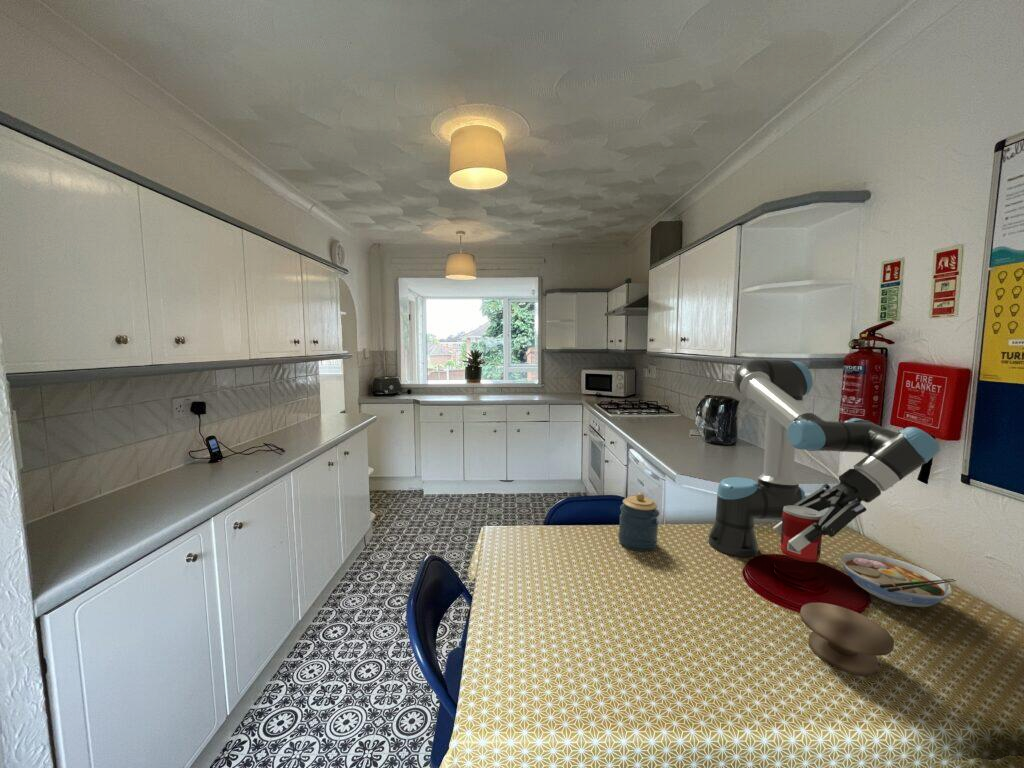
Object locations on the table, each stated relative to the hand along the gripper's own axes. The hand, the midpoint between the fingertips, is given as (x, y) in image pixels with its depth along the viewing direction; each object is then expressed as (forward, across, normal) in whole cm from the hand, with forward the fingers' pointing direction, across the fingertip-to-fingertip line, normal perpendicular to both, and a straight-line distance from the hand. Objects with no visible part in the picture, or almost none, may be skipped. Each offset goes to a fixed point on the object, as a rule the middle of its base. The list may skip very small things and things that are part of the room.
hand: (785, 538), depth 101 cm
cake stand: (+9, -9, -22) cm, 25 cm away
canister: (+36, +35, +7) cm, 51 cm away
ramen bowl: (-10, +20, -40) cm, 46 cm away
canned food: (0, 0, -5) cm, 5 cm away
